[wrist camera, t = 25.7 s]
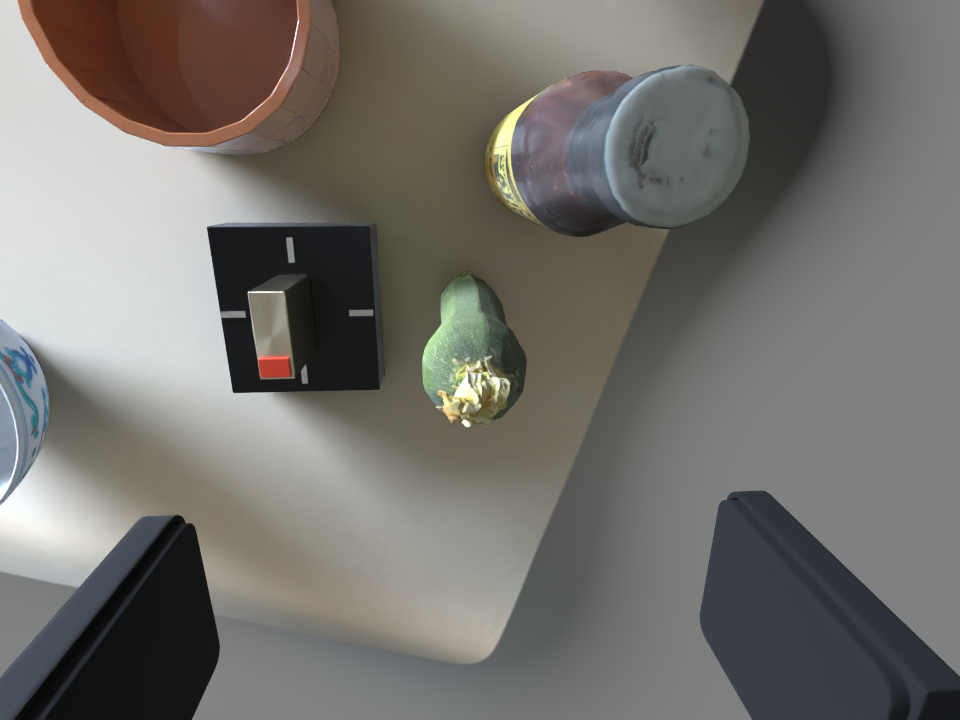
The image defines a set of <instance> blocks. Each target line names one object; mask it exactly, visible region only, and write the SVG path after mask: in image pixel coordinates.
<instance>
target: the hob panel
mask: <svg viewBox="0 0 960 720" xmlns="http://www.w3.org/2000/svg"><path fill="white" fill-rule="evenodd" d="M207 231H208V237H209V243H210V250H211V256H212V262H213V269H214V275H215V281H216V288H217V294H218V300H219V307H220V313H221V319H222V326H223V332H224V338H225V345H226V351H227V357H228V364H229V370H230V376H231V383H232V389H233V393H250V392H296V391H342V390H379V389H380V387H381V384H382V380H383V377H384V374H385V368H384V351H383V334H382V317H381V300H380V283H379V267H378V250H377V233H376V223H225V224H220V225H214V226H209V227H207ZM278 275H309V280H310V289H311V299H312V308H313V317H314V326H315V335H316V345H317V350H316V352H315V353H314V354H313V356H312V357H311V358H310V360H309V361H308V362H307V364H306V365H305V366H304V367H303V369H302V370H301V371H300V373H299V374H298V375H297V377H296V378H294V379H260V374H259V367H258V360H257V353H256V347H255V340H254V333H253V326H252V320H251V313H250V306H249V299H248V292H249V291H250V290H252V289H254V288H256V287H258V286H260V285H261V284H263V283H265V282H267V281H269V280H270V279H272V278H274V277H276V276H278Z"/></svg>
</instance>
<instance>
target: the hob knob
mask: <svg viewBox="0 0 960 720" xmlns="http://www.w3.org/2000/svg"><path fill="white" fill-rule="evenodd" d="M248 299H249V306H250V313H251V320H252V326H253V333H254V340H255V347H256V353H257V360H258V367H259V374H260V379H294V378H296V377H297V375H298V374H299V373H300V371H301V370H302V369H303V367H304V366H305V365H306V364H307V362H308V361H309V360H310V358H311V357H312V356H313V354H314V353H315V352H316V350H317V345H316V335H315V326H314V317H313V308H312V299H311V289H310V280H309V275H278V276H276V277H274V278H272V279H270V280H269V281H267V282H265V283H263V284H261V285H260V286H258V287H256V288H254V289H252V290H250V291H249V292H248Z"/></svg>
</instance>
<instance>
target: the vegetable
mask: <svg viewBox="0 0 960 720" xmlns="http://www.w3.org/2000/svg"><path fill="white" fill-rule="evenodd" d="M526 363H527V360H526V355H525V353H524V351H523V349H522V347H521V345H520V344H519V342H518V340H517V338H516V336H515V335H514V333H513V331H512V330H511V329H510V328H509V327H508V326H507V323H506V319H505V315H504V310H503V307H502V304H501V302H500V300H499V299H498V297H497V296H496V294H495V293H494V291H493V290H492V289H491V288H490V287H489V286H488V285H487V284H486V282H485V281H483V280H482V279H480V278H477V277H475V276H473V275H471V274H468V272H467V271H464V272H462V273H461V274H460V276H459V277H458V278H455V279H454V280H452V281H451V283H450V284H449V285H448V286H447V287H446V289H445V290H444V291H443V293H442V295H441V325H440V327H439V328H438V330H437V331H436V332H435V333H434V335H433V336H432V337H431V339H430V340H429V341H428V343H427V345H426V347H425V350H424V354H423V358H422V374H423V385H424V388H425V391H426V393H427V394H428V395H429V397H430V398H431V400H432V401H433V402H434V404H435V405H436V408H438V409H439V410H440V411H441V412H442V413H443V414H445V415H446V416H447V417H448V419H449V420H450V422H451V423H452V424H455V423H458V422H460V421H461V422H462V423H463V424H464V425H465V426H466V427H469V426H473V425H474V424H480V423H483V425H484V426H485V427H486V428H487V427H488V428H489V426H490V427H491V424H490V423H491V422H493V420H496V419H498V418H500V417H502V416H503V415H504V414H505V413H506V412H507V411H508V410H509V409H510V408H511V407H512V406H513V405H514V403H515V402H516V401H517V399H518V398H519V397H520V395H521V393H522V392H523V388H524V382H525V374H526Z"/></svg>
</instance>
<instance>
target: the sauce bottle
mask: <svg viewBox="0 0 960 720" xmlns="http://www.w3.org/2000/svg"><path fill="white" fill-rule="evenodd" d="M749 142H750V133H749V121H748V118H747V114H746V111H745V108H744V106H743V103H742V100H741V98H740V97H739V95H738V94H737V92H736V91H735V90H734V89H733V88H732V87H731V85H729V84H728V83H727V82H726V81H724V80H723V79H722V78H721V77H719V76H718V75H717V74H716V73H715V72H713V71H711V70H708V69H706V68H703V67H699V66H693V65H678V66H672V67H667V68H662V69H659V70H656V71H651V72H648V73H645V74H642V75H640V76H637V77H635V78H632V77H630V76H628V75H626V74H621V73H620V72H616V71H589V72H583V73H581V74H578V75H575V76H573V77H570V78H567V79H566V80H563V81H561V82H558V83H555V84H553V85H552V86H550V87H548V88H546V89H545V90H543V91H542V92H540V93H539V94H538V95H536V96H535V97H533V98H532V99H530V100H529V101H527V102H526V103H524V104H522V105H521V106H519V107H518V108H516V109H515V110H514V111H512V112H511V113H509V114H508V115H506V116H505V117H504V118H503V119H502V121H501V122H500V123H499V124H498V125H497V126H496V128H495V129H494V131H493V133H492V135H491V137H490V139H489V142H488V145H487V149H486V155H485V171H486V175H487V179H488V182H489V185H490V187H491V189H492V191H493V193H494V194H495V196H496V197H497V198H498V200H499V201H500V202H501V203H502V204H503V205H504V206H506V207H507V208H508V209H509V210H511V211H513V212H514V213H516V214H519V215H521V216H523V217H525V218H527V219H529V220H531V221H533V222H536V223H537V224H539V225H542V226H545V227H547V228H549V229H551V230H553V231H555V232H558V233H561V234H564V235H568V236H574V237H586V236H591V235H595V234H598V233H601V232H603V231H605V230H608V229H610V228H613V227H615V226H618V225H620V224H623V223H625V222H628V223H631V224H633V225H636V226H644V227H650V228H659V229H674V228H678V227H682V226H685V225H688V224H691V223H693V222H696V221H698V220H700V219H702V218H704V217H706V216H708V215H709V214H710V213H711V212H712V211H714V210H715V209H716V208H717V207H718V206H720V205H721V204H722V203H723V202H724V201H725V200H726V199H727V197H728V196H729V195H730V193H731V192H732V191H733V189H734V188H735V186H736V185H737V183H738V181H739V179H740V177H741V175H742V172H743V170H744V167H745V164H746V161H747V156H748V145H749Z"/></svg>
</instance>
